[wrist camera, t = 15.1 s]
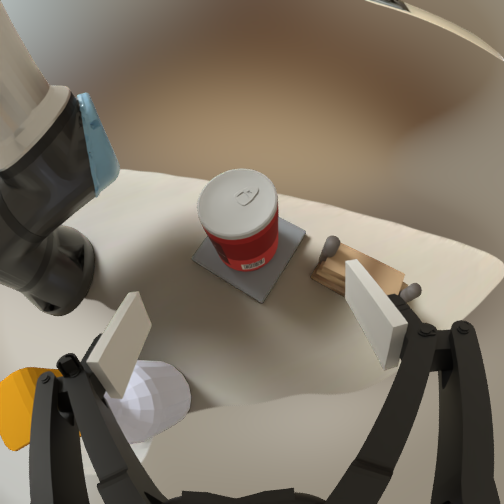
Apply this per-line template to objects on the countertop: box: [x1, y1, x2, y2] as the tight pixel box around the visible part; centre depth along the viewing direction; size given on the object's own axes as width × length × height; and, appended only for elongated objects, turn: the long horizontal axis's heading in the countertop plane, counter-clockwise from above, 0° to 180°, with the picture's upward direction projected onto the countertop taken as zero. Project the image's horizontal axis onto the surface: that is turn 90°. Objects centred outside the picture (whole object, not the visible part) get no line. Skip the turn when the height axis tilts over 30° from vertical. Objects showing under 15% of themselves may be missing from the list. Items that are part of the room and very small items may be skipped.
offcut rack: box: [311, 236, 422, 303], centre depth 31 cm, size 12×5×7 cm, turn 57°
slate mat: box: [192, 217, 306, 303], centre depth 37 cm, size 11×11×1 cm
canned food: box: [197, 169, 278, 272], centre depth 31 cm, size 8×8×11 cm
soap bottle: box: [0, 360, 191, 451], centre depth 19 cm, size 9×9×25 cm
